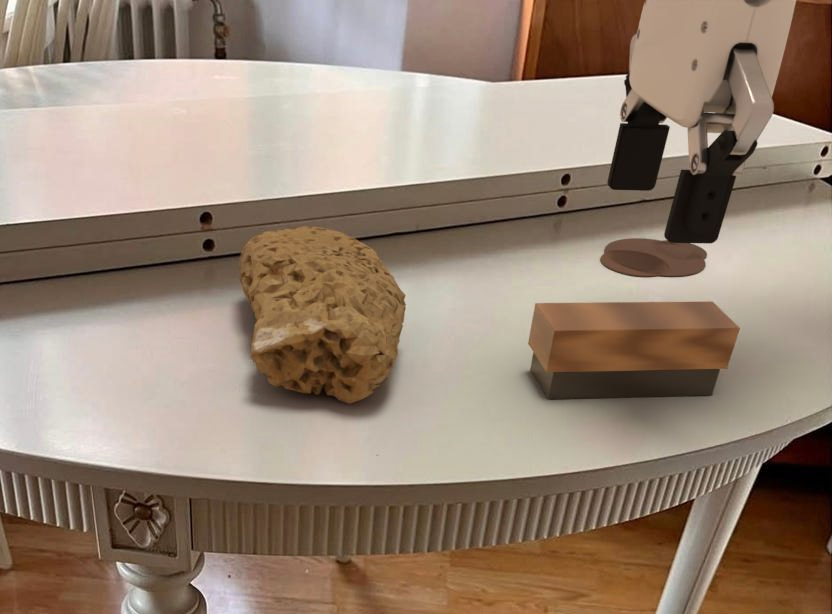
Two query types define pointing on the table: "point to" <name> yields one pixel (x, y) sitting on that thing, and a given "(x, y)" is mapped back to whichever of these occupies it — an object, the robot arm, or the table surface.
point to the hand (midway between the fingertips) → (658, 213)
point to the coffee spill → (653, 258)
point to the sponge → (321, 311)
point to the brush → (629, 348)
